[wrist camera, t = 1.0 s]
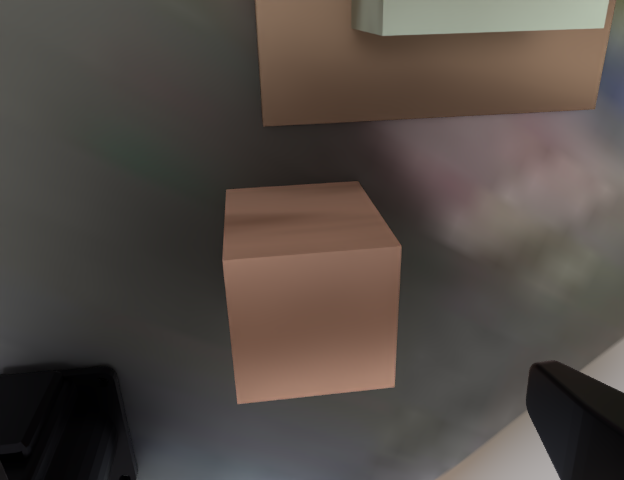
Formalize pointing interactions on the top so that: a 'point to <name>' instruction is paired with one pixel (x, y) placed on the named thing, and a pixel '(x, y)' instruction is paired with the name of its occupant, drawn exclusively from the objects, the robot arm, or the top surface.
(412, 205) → the top surface
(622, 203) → the top surface
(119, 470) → the robot arm
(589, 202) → the top surface
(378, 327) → the top block
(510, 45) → the tan square base
